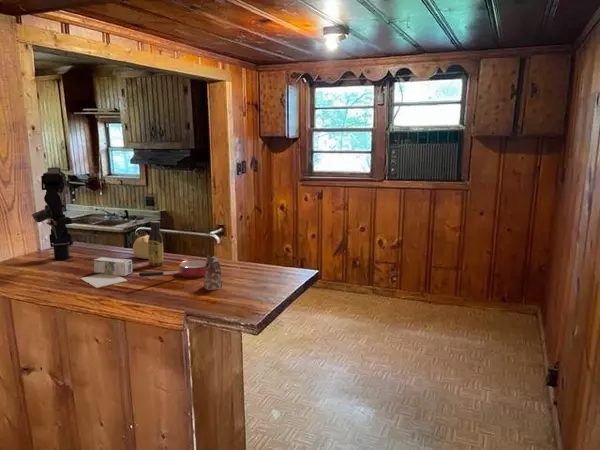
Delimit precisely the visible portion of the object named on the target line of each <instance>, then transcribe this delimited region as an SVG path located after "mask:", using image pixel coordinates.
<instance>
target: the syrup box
mask: <svg viewBox="0 0 600 450" xmlns="http://www.w3.org/2000/svg"><path fill="white" fill-rule="evenodd" d="M93 273H94V274H109V275H118V276H120V277H125V276H127V275H130V274H133V259H130V258H129V259H128V258H127V259H125V258H117V257H106V256H100V257H98V258H95V259H93Z"/></svg>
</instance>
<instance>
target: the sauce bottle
mask: <svg viewBox="0 0 600 450" xmlns="http://www.w3.org/2000/svg"><path fill="white" fill-rule="evenodd" d="M160 226H161V221H160V220H151V221H150V233H149V239H148V257H149V259H148V264H149V266H150V267H160V266H163V264H164V241H163V240H164V239H163V238H164V237H163V234H162V233H161V227H160Z"/></svg>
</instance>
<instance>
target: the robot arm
mask: <svg viewBox="0 0 600 450" xmlns="http://www.w3.org/2000/svg"><path fill="white" fill-rule="evenodd" d="M40 180H41V183H40V184H41V191H45V194H44V197H43V199H44V202H45V205H44V208H43V209H41V210H38V211H36V212H34V213H32V214H31V217H32V218H33V219H34V221H35V222H36V223H41V222H44V221H46V220H47V222H46V224H47V225H49V226H50V227H51V228H50V233H49V235H48V236H49V244H50V248H53V256H54V257H52V258H51V260H52V261H53V260H54V261H66V260H70V259H71V258H73V257H74V255H70V247H71V246H73V245H74V242H73V235H72V234H71V232H69V229H68V227H67V225H72V224H73V219H72V218H71V217H69V216H66V214H64V208H65V204H64V203H63V195H64V193H65V191H66V186H67V176H66V174H65V172H63V171H62V170H61V167H48V168H47V172H43V173H42V175H41V176H40Z"/></svg>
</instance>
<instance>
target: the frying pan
mask: <svg viewBox="0 0 600 450" xmlns="http://www.w3.org/2000/svg"><path fill="white" fill-rule="evenodd" d="M207 261H208V259H201V258H200V259H198V258H195V259H187V260H183V261H181V262H180V263H179V264H178V269H179V270H173V271H172V270H171V271H170V270H169V271H160V270H159V271H145V272H144V271H143V272H139V274H138V275H139V278H141V277H143V278H144V277H156V276H157V277H159V276H163V275H176V274H177V275H178V274H179V275H180V276H181V277H184V278H189V279H190V278H191V279H194V278H195V279H196V278H202V277H203V278H205V272H206V270H207V268H206V262H207ZM209 266H210V264H209Z"/></svg>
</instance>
